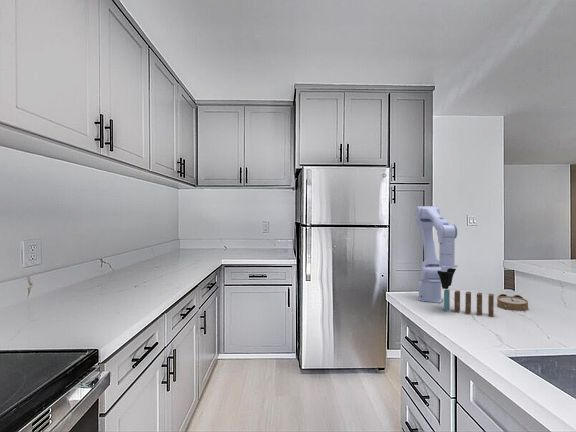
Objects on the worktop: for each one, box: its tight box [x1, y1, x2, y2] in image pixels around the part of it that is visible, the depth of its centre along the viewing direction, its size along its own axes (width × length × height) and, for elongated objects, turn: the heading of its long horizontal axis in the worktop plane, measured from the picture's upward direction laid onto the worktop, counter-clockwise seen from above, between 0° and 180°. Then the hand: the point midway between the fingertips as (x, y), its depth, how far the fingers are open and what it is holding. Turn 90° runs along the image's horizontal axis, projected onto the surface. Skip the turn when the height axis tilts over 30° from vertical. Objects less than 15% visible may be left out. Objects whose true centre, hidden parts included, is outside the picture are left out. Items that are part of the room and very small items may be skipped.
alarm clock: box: [496, 293, 529, 312], centre depth 158 cm, size 11×5×15 cm
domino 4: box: [487, 293, 495, 318], centre depth 144 cm, size 2×4×8 cm, turn 149°
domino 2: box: [464, 291, 472, 315], centre depth 148 cm, size 2×4×8 cm, turn 149°
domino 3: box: [476, 292, 483, 316], centre depth 146 cm, size 2×4×8 cm, turn 149°
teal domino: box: [443, 289, 451, 312], centre depth 152 cm, size 2×4×8 cm, turn 150°
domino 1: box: [453, 290, 461, 314], centre depth 150 cm, size 2×4×8 cm, turn 149°
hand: (446, 287), depth 152 cm, fingers open, 7 cm apart
